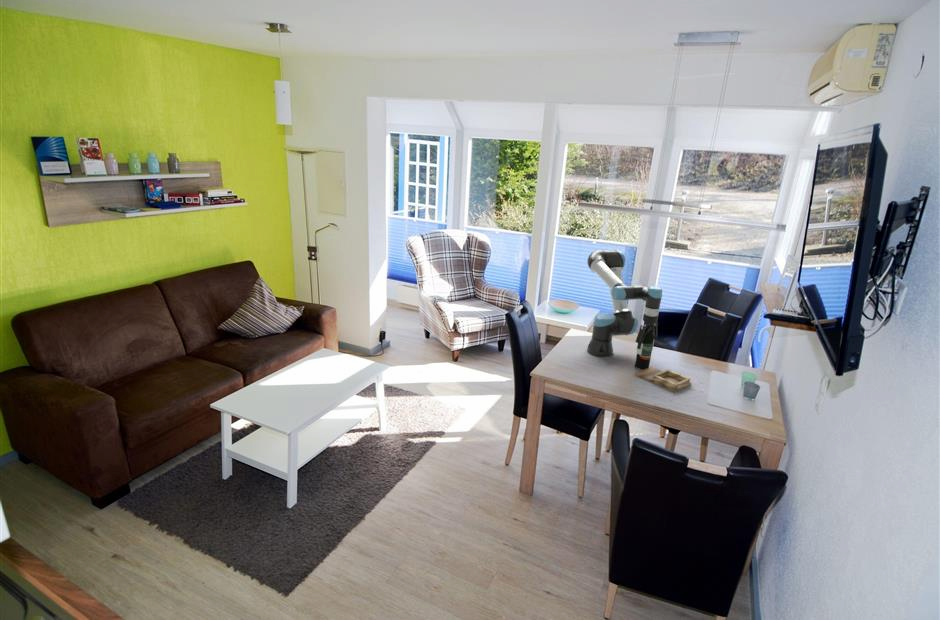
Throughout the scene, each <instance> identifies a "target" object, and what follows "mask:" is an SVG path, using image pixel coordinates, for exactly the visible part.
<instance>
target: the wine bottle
mask: <svg viewBox="0 0 940 620" xmlns="http://www.w3.org/2000/svg"><path fill="white" fill-rule="evenodd" d="M650 326H651V327H652V323H650ZM653 342H654V343H655V339H654V334H653V333H652V332H651V329H650V330H649V332H648V333H647V334H646V336H645V338H644V340H643V347H642V353H641V355H640V354H637V353H636V358H635V362H634V363H635V364H634V367H635V368H636V369H638V370H643V369H646V368H648V367H650V362H651V357H652V352H653V350H652V347H653V348H654V345H653Z"/></svg>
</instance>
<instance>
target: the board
mask: <svg viewBox="0 0 940 620" xmlns="http://www.w3.org/2000/svg"><path fill="white" fill-rule="evenodd" d="M634 376H636V377H638V378H641V379H642V380H645V381H648V382H650V383H652V384H655V385H657V386H659V387H661V388H664V389H666V390H669V391H671V392H673V393H676V392H677V393H678V392H679V391H680V390H681V391H682V390H683V389H685V388H687V387H689V386H691V385H692V382H691V378H690V377H688V376H685V375H683V374H680V373H677V372H675V371H672V370H671V369H665V370H661V369H658V368H656V367H653V366H649V367H648V368H646V369H643V370H642V369H640V370H639V371H638V370H637V371H636V372H635V373H634Z"/></svg>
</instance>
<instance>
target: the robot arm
mask: <svg viewBox="0 0 940 620" xmlns="http://www.w3.org/2000/svg"><path fill="white" fill-rule="evenodd" d="M587 266H588V268H589V269H590V271H591V272H592V273H596V275H597V276H598V277H599V278H600V279H601V280H602V281H603V282H604V284H605V285H606V286H607V287H608V288H609V293H610V299H611V303H612V308H613V311H612V312H613V313H610V312H608V313H607V312H603V313H598V314H597V315H595V317H594V319H593V320H594V321H593V328H592V334H591V339H590V341H589V343H588V345H587V347H586V348H587V349H586V350H587V352H588V353H589V354H591V355H592V356H597V357H601V358H607V357H611V356H613V354H614V348H613V342H612V341H613V337H614V336H615V337H616V336H631V335H634V334H635V333H636V332H637V331H638V334H637V336H636V339H635V343H637V347H636V352H635V353H636V355H637V354H640V355H641V353H642V347H643V340H644V338H645V336H646V334H647V333H648V332H649V330H650V329H651V332H652V333H653V334H654V342H653V347H652V351H653V350H654V343H655V341H656V340H657V339H658V326H659V322H658V320H659V319H658V318H659V313H660V307H661V303H662V298H663V288H661V287H660V286H656V285H651V286H647V285H645V284H641V283H637V284H635V285H626V284H625V283H624V280H623V276H622V272H623V270H624V268H625V266H626V256H625V254H624V253H623V252H622V251H621V250H618V249H597V250H594V251H592V252H591V253H590V254H589V255H588V257H587ZM629 300H633V301H634V300H642V301H644V302H645V304H644V309H643V310H644V311H643V316H642V321H643V324H641V325H640V326H639V320H638V318H637V316H636V315H634V314H633V311H632V310H630V308H629V306H628V301H629ZM650 323H652V327H651V326H650ZM638 327H639V330H637V329H638Z"/></svg>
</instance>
